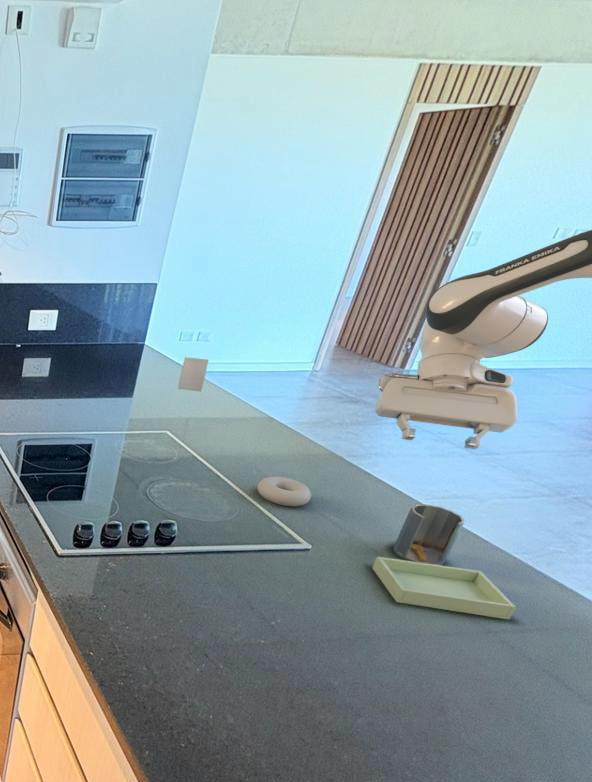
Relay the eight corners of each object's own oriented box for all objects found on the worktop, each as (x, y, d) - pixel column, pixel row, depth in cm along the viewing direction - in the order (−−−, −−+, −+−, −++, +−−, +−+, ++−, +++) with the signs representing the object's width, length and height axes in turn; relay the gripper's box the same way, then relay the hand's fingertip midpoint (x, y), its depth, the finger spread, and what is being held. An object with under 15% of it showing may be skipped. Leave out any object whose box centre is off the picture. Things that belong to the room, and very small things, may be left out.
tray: (474, 582, 107) (480, 570, 105) (509, 619, 98) (516, 607, 97) (371, 567, 111) (377, 556, 109) (396, 602, 102) (402, 589, 101)
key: (408, 545, 116) (409, 543, 116) (423, 548, 115) (424, 545, 115) (414, 558, 112) (415, 556, 112) (430, 561, 111) (431, 559, 111)
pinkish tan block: (201, 391, 198) (208, 361, 193) (178, 388, 200) (185, 358, 196) (200, 388, 201) (208, 358, 196) (178, 385, 203) (185, 356, 199)
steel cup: (389, 541, 118) (407, 501, 114) (436, 551, 115) (457, 509, 111) (397, 560, 113) (417, 518, 108) (448, 571, 110) (469, 528, 106)
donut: (315, 499, 134) (266, 482, 140) (320, 485, 132) (270, 469, 139) (298, 514, 128) (247, 496, 135) (303, 500, 126) (252, 482, 133)
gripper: (387, 363, 120) (378, 426, 117) (525, 378, 112) (520, 446, 109) (374, 379, 126) (365, 439, 123) (504, 394, 118) (499, 459, 114)
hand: (439, 443), depth 116 cm, fingers open, 8 cm apart
